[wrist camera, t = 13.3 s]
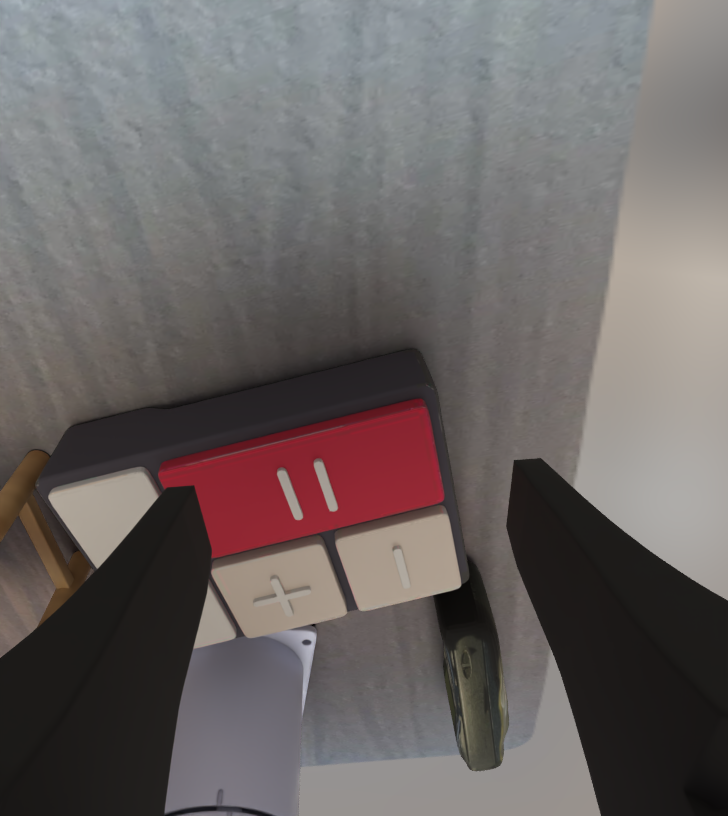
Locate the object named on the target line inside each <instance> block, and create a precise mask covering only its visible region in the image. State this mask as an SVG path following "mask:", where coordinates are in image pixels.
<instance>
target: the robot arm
mask: <svg viewBox="0 0 728 816" xmlns="http://www.w3.org/2000/svg"><path fill="white" fill-rule="evenodd" d="M506 527H507V531H508V535H509V539H510V543H511V546H512V550H513V554H514V557H515V561H516V564H517V567H518V570H519V572H520V575H521V577H522V580H523V582H524V585H525V587H526V590H527V592H528V595H529V597H530V599H531V602H532V604H533V607H534V609H535V611H536V614H537V616H538V619H539V621H540V623H541V626H542V628H543V631H544V633H545V635H546V638H547V640H548V643H549V645H550V647H551V650H552V652H553V655H554V657H555V660H556V663H557V665H558V668H559V671H560V673H561V676H562V680H563V683H564V686H565V690H566V693H567V696H568V699H569V703H570V706H571V709H572V713H573V716H574V719H575V722H576V726H577V729H578V733H579V737H580V740H581V744H582V747H583V750H584V754H585V758H586V761H587V765H588V768H589V772H590V776H591V780H592V783H593V787H594V791H595V795H596V798H597V802H598V805H599V809H600V813H601V816H728V601H727V600H726V599H724V598H722V597H720V596H719V595H717V594H715V593H713V592H712V591H710V590H708V589H707V588H705V587H703V586H701V585H700V584H698V583H697V582H695V581H694V580H692V579H690V578H689V577H687V576H686V575H684V574H683V573H681V572H680V571H678V570H677V569H675V568H674V567H672V566H671V565H669V564H668V563H666V562H665V561H663V560H662V559H660V558H659V557H658V556H656V555H655V554H653V553H652V552H650V551H649V550H648V549H646V548H645V547H644V546H642V545H641V544H640V543H639V542H637V541H636V540H635V539H633V538H632V537H631V536H629V535H628V534H627V533H625V532H624V531H623V530H622V529H620V528H619V527H618V526H617V525H615V524H614V523H613V522H612V521H610V520H609V519H608V518H607V517H606V516H605V515H603V514H602V513H601V512H600V511H599V510H598V509H596V508H595V507H594V506H593V505H592V504H591V503H589V502H588V501H587V500H586V499H585V498H584V497H583V496H582V495H580V494H579V493H578V492H577V491H576V490H575V489H574V488H573V487H572V486H571V485H569V484H568V483H567V482H566V481H565V480H564V479H563V478H562V477H561V476H560V475H559V474H558V473H556V472H555V471H554V470H553V469H552V468H551V467H550V466H549V465H548V464H547V463H546V462H544V461H543V460H542V459H541V458H537V459H525V460H514V465H513V473H512V482H511V490H510V499H509V507H508V516H507V525H506ZM211 557H212V547H211V544H210V540H209V537H208V533H207V529H206V526H205V522H204V519H203V515H202V512H201V508H200V504H199V501H198V497H197V494H196V490H195V486H194V485H191V486H178V487H167V488H166V489H165V490H164V491H163V492H162V494H161V495H160V496H159V497H158V498H157V499H156V501H155V502H154V503H153V504H152V506H151V507H150V508H149V509H148V510H147V512H146V513H145V514H144V515H143V517H142V518H141V519H140V520H139V521H138V523H137V524H136V525H135V526H134V527H133V529H132V530H131V531H130V532H129V533H128V535H127V536H126V537H125V538H124V539H123V540H122V542H121V543H120V544H119V545H118V546H117V547H116V549H115V550H114V551H113V552H112V553H111V554H110V555H109V557H108V558H107V559H106V560H105V561H104V562H103V563H102V564H101V566H100V567H99V568H98V569H97V570H96V571H95V572H94V573H93V574H92V575H91V576H90V577H89V578H88V579H87V580H86V581H85V582H84V584H83V585H82V586H81V587H80V588H79V589H78V590H77V591H76V592H75V593H74V594H73V595H72V596H71V597H70V598H69V599H68V600H67V601H66V602H65V603H64V604H63V605H62V606H61V607H60V608H59V609H57V610H56V611H55V612H54V613H53V614H52V615H51V616H50V617H49V618H48V619H46V620H45V621H44V622H43V623H42V624H41V625H40V626H39V627H38V628H36V629H35V630H34V631H33V632H32V633H31V634H30V635H28V636H27V637H26V638H25V639H24V640H22V641H21V642H20V643H19V644H17V645H16V646H15V647H14V648H12V649H11V650H10V651H9V652H7V653H6V654H5V655H4V656H2V657H1V658H0V816H299V791H300V760H301V729H302V717H303V711H304V706H305V700H306V694H307V689H308V683H309V677H310V672H311V666H312V660H313V655H314V649H315V643H316V638H317V630H316V628H315V627H313V626H310V625H306V626H302V627H298V628H293V629H289V630H285V631H281V632H277V633H273V634H268V635H264V636H260V637H256V638H248V637H246V636H244V637H240V638H236V639H232V640H229V641H225V642H221V643H216V644H212V645H208V646H204V647H200V648H196V649H193V648H194V644H195V640H196V636H197V632H198V628H199V624H200V620H201V616H202V612H203V608H204V604H205V600H206V595H207V590H208V583H209V575H210V566H211Z"/></svg>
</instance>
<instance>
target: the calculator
mask: <svg viewBox="0 0 728 816" xmlns="http://www.w3.org/2000/svg"><path fill="white" fill-rule="evenodd" d="M191 485H194V486H195V490H196V494H197V497H198V501H199V504H200V508H201V512H202V515H203V519H204V522H205V526H206V529H207V533H208V537H209V540H210V544H211V547H212V557H211V566H210V575H209V583H208V590H207V595H206V600H205V604H204V608H203V612H202V616H201V620H200V624H199V628H198V632H197V636H196V640H195V644H194V648H193V649H196V648H200V647H204V646H208V645H212V644H216V643H221V642H225V641H229V640H232V639H236V638H240V637H244V636H246V637H248V638H256V637H260V636H264V635H268V634H273V633H277V632H281V631H285V630H289V629H293V628H298V627H302V626H306V625H310V624H314V623H318V622H323V621H327V620H331V619H335V618H339V617H342V616H345V615H346V614H347V612H348V611H353V610H357V609H359V610H361V611H368V610H373V609H377V608H381V607H385V606H389V605H394V604H398V603H402V602H406V601H410V600H414V599H419V598H423V597H427V596H431V595H435V594H440V593H444V592H448V591H452V590H455V589H458V588H460V586H461V584H463V583H465V582H467V580H468V579H469V568H468V563H467V557H466V551H465V546H464V540H463V534H462V529H461V523H460V517H459V512H458V506H457V500H456V495H455V489H454V483H453V478H452V472H451V466H450V461H449V455H448V450H447V444H446V438H445V433H444V427H443V421H442V416H441V410H440V404H439V399H438V394H437V389H436V387H435V384H434V382H433V380H432V377H431V375H430V373H429V370H428V368H427V366H426V363H425V361H424V359H423V357H422V355H421V353H420V352H419V351H417V350H415V349H409V350H404V351H400V352H396V353H392V354H388V355H384V356H380V357H376V358H372V359H368V360H364V361H360V362H356V363H352V364H348V365H344V366H340V367H336V368H332V369H328V370H324V371H320V372H316V373H312V374H308V375H304V376H300V377H296V378H292V379H288V380H284V381H280V382H276V383H272V384H268V385H264V386H260V387H256V388H253V389H249V390H245V391H241V392H237V393H233V394H229V395H225V396H221V397H217V398H213V399H209V400H205V401H201V402H197V403H193V404H189V405H185V406H181V407H177V408H172V409H168V410H167V409H157V408H145V409H140V410H136V411H132V412H128V413H124V414H120V415H116V416H112V417H108V418H104V419H100V420H96V421H92V422H88V423H84V424H80V425H77V426H73V427H70V428H69V429H67V431H66V432H65V434H64V435H63V437H62V439H61V440H60V442H59V444H58V445H57V447H56V449H55V450H54V452H53V454H52V455H51V457H50V459H49V460H48V462H47V464H46V465H45V467H44V469H43V471H42V472H41V474H40V476H39V478H38V479H37V481H36V484H35V487H36V490H37V491H38V493H39V495H40V496H41V497H42V499H43V500H44V502H45V503H46V504H47V506H48V507H49V509H50V510H51V511H52V513H53V514H54V516H55V517H56V518H57V520H58V521H59V523H60V524H61V525H62V527H63V528H64V530H65V531H66V532H67V534H68V535H69V537H70V538H71V539H72V541H73V542H74V544H75V545H76V546H77V548H78V549H79V551H80V552H81V553H82V555H83V556H84V558H85V559H86V560H87V562H88V563H89V565H90V566H91V567H92V569H93V570H94V572H95V571H96V570H97V569H98V568H99V567H100V566H101V564H102V563H103V562H104V561H105V560H106V559H107V558H108V557H109V555H110V554H111V553H112V552H113V551H114V550H115V549H116V547H117V546H118V545H119V544H120V543H121V542H122V540H123V539H124V538H125V537H126V536H127V535H128V533H129V532H130V531H131V530H132V529H133V527H134V526H135V525H136V524H137V523H138V521H139V520H140V519H141V518H142V517H143V515H144V514H145V513H146V512H147V510H148V509H149V508H150V507H151V506H152V504H153V503H154V502H155V501H156V499H157V498H158V497H159V496H160V495H161V494H162V492H163V491H164V490H165V489H166V488H167V487H178V486H191Z"/></svg>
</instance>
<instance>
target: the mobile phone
mask: <svg viewBox="0 0 728 816" xmlns="http://www.w3.org/2000/svg"><path fill="white" fill-rule="evenodd" d="M467 563H468V568H469V579H468V580H467V582H465V583H463V584H461V586H460V588H458V589H455V590H452V591H448V592H444V593H440V594H435V595H433V597H434V601H435V606H436V612H437V618H438V623H439V627H440V632H441V636H442V639H443V642H444V665H443V667H444V677H445V683H446V689H447V694H448V699H449V705H450V710H451V715H452V720H453V725H454V731H455V736H456V741H457V745H458V749H459V752H460V755H461V757H462V758H463V759H464V760H465V762H466V764H467V766H468V767H469V769H470V770H472V771H483V770H490V769H494V768H496V767H498V766H500V764H501V763H502V760H503V755H504V745H503V742H504V738H505V735H506V733H507V730H508V726H509V715H508V701H507V695H506V690H505V685H504V678H503V666H502V659H501V653H500V646H499V639H498V634H497V629H496V625H495V622H494V618H493V614H492V611H491V607H490V604H489V600H488V597H487V594H486V590H485V587H484V584H483V581H482V578H481V575H480V572H479V570H478V568H477V567H476V566H475V565H474V564H473V563H471V562H469V561H467Z"/></svg>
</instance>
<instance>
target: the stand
mask: <svg viewBox="0 0 728 816" xmlns="http://www.w3.org/2000/svg"><path fill="white" fill-rule="evenodd" d="M49 459H50V457H49V455H48V454H46V453H45V452H42V451H39V450H34V451H31V452H29V453H28V454H27V455H26V457H25V458H24V459H23V461H22V462H21V463H20V465H19V466H18V468H17V469H16V470H15V472H14V473H13V475H12V476H11V477H10V479H9V480H8V481H7V483H6V484H5V486H4V487H3V488H2V490H1V491H0V542H1V541H2V539H3V538H4V536H5V535H6V533H7V531H8V530H9V528H10V527H11V525H12V524H13V522H14V521H15V519H16V518H17V516H18V515H19V517H20V519H21V521H22V523H23V525H24V527H25V529H26V531H27V533H28V535H29V537H30V539H31V541H32V542H33V544H34V546H35V548H36V550H37V552H38V554H39V556H40V558H41V560H42V562H43V564H44V566H45V568H46V570H47V571H48V573H49V575H50V577H51V579H52V581H53V583H54V585H55V587H56V590H55V592H54V594H53V596H52V598H51V600H50V602H49V604H48V606H47V608H46V610H45V612H44V615H43V617H42V619H41V621H40V623H39V625H38V627H39V626H40V625H41V624H42V623H43V622H44V621H45V620H46V619H48V618H49V617H50V616H51V615H52V614H53V613H54V612H55V611H56V610H57V609H59V608H60V607H61V606H62V605H63V604H64V603H65V602H66V601H67V600H68V599H69V598H70V597H71V596H72V595H73V594H74V593H75V592H76V591H77V590H78V589H79V588H80V587H81V586H82V585H83V584H84V582H85V580H86V578H87V575H88V573H89V571H90V569H91V566H90V565H89V563H88V562H87V560H86V559H85V558H84V556H83V555H82V553H81V552H80V551H76V552H75V553H74V554H73V555H72V557H71V559H70V561H69V564H68V565H67V563H66V561H65V559H64V557H63V555H62V553H61V551H60V549H59V547H58V545H57V543H56V541H55V539H54V537H53V534H52V532H51V530H50V528H49V526H48V524H47V522H46V520H45V518H44V516H43V514H42V512H41V510H40V508H39V506H38V504H37V501H36V499H35V497H34V495H33V491H34V490H35V488H36V487H35V484H36V481H37V479H38V478H39V476H40V474H41V472H42V471H43V469H44V467H45V465H46V464H47V462H48V460H49ZM38 627H37V628H38Z"/></svg>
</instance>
